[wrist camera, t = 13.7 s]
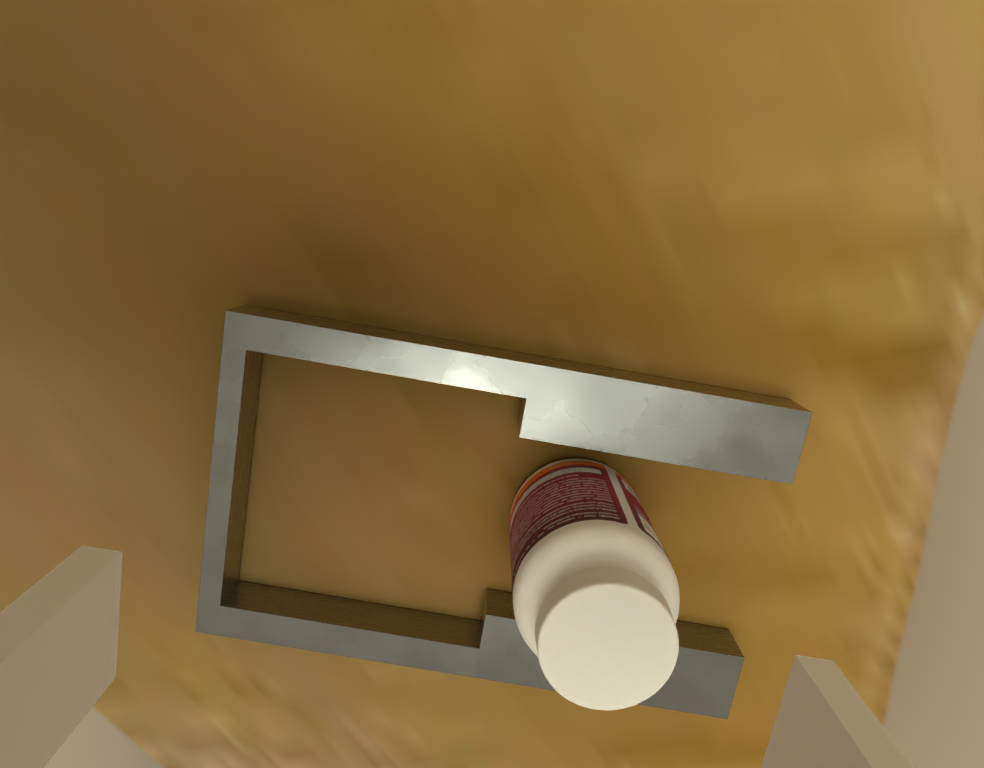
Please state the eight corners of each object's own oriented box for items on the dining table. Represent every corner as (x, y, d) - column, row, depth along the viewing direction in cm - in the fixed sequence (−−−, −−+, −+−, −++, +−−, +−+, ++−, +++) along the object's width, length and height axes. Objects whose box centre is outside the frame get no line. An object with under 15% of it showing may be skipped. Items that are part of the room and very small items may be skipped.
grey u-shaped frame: (215, 604, 36) (195, 631, 33) (245, 304, 33) (225, 310, 30) (713, 687, 36) (727, 719, 34) (790, 399, 33) (812, 412, 31)
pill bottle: (488, 545, 35) (480, 688, 24) (543, 433, 34) (561, 530, 23) (604, 596, 35) (648, 758, 24) (663, 486, 34) (736, 607, 23)
